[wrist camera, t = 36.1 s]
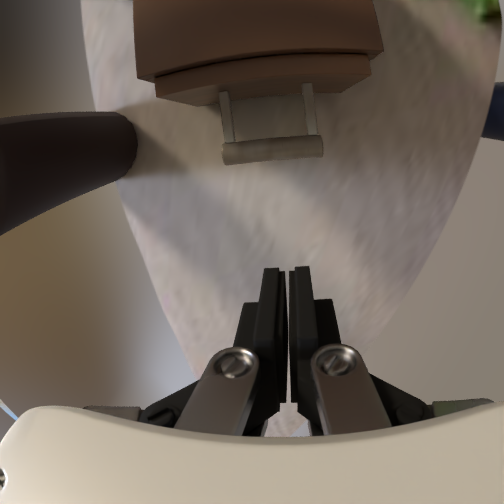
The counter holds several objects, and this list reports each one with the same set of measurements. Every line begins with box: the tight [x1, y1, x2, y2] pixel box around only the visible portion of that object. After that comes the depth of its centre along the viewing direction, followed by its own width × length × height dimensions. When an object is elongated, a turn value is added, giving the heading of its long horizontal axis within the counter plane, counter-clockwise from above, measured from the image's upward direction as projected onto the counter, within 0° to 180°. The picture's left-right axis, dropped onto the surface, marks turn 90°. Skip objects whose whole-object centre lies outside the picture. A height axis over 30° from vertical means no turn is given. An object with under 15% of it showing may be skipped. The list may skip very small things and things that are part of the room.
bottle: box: [0, 112, 137, 236], centre depth 14 cm, size 7×7×20 cm
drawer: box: [154, 52, 371, 165], centre depth 14 cm, size 18×11×8 cm, turn 7°
